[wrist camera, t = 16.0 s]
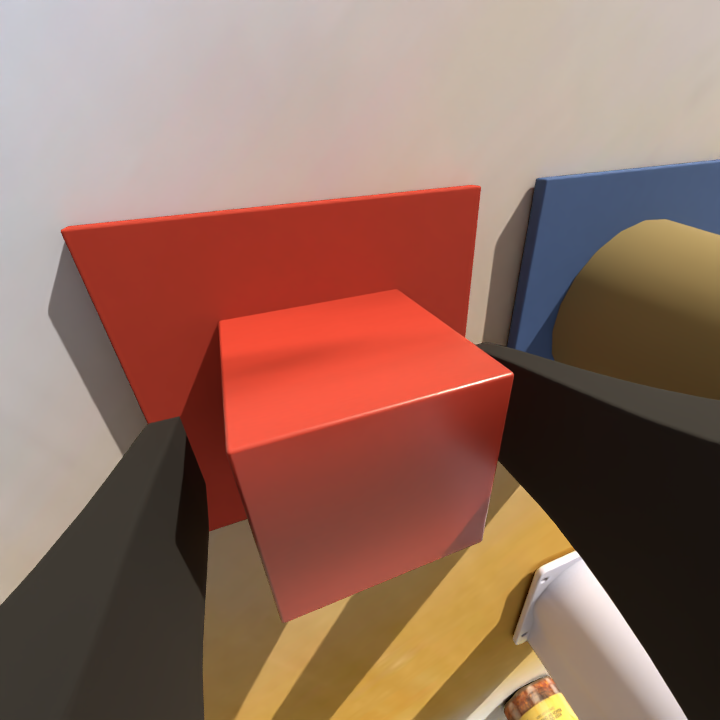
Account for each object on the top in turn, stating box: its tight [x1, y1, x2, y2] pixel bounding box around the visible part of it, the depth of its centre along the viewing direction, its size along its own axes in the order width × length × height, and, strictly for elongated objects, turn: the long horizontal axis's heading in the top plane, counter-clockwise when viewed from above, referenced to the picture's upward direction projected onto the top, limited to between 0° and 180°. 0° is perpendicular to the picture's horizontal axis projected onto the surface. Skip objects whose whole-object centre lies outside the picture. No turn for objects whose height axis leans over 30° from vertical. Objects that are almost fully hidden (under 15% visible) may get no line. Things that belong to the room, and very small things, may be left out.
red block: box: [218, 289, 514, 623], centre depth 8 cm, size 4×4×4 cm
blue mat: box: [507, 160, 720, 361], centre depth 13 cm, size 9×9×1 cm
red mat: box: [61, 185, 481, 531], centre depth 10 cm, size 9×9×1 cm
